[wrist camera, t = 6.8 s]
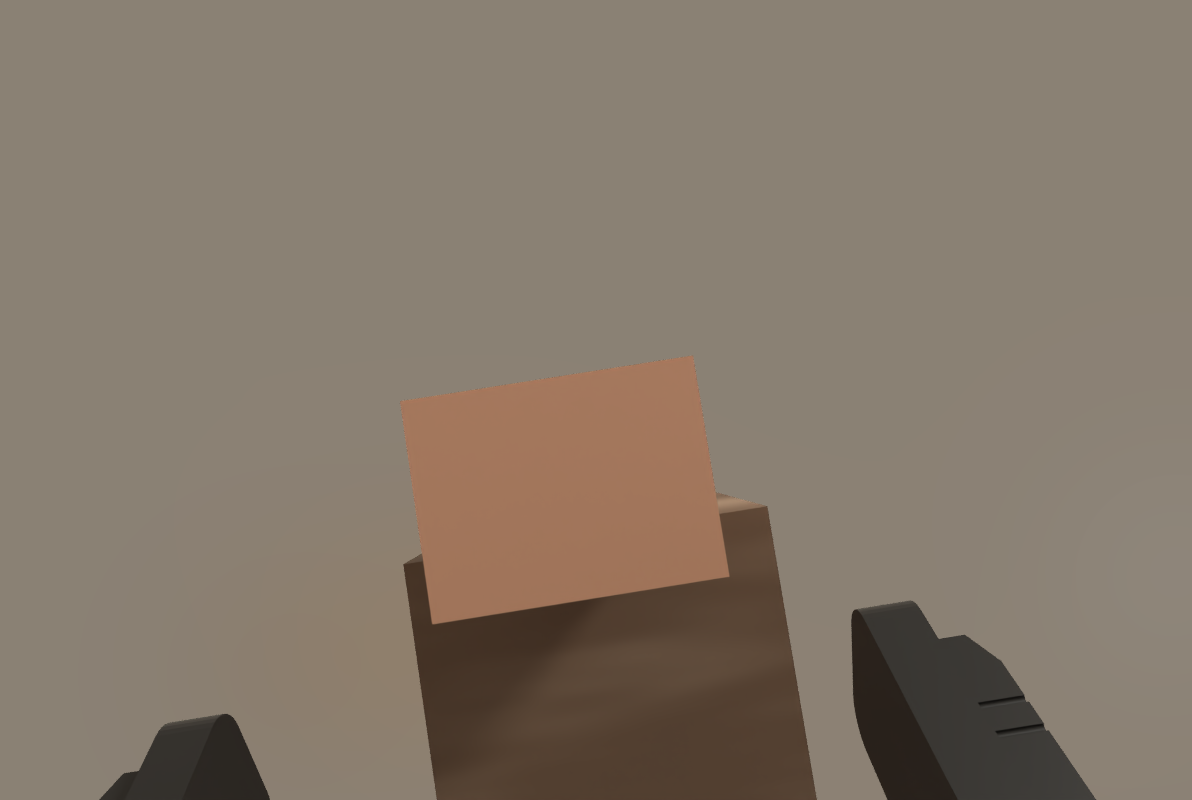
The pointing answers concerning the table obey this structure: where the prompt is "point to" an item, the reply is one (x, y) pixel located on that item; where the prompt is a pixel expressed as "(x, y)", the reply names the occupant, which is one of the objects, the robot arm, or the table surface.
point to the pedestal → (622, 689)
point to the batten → (563, 489)
